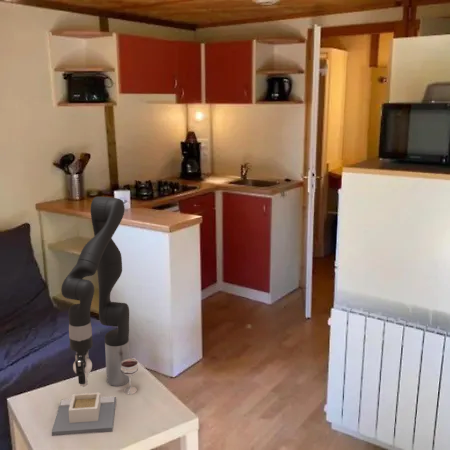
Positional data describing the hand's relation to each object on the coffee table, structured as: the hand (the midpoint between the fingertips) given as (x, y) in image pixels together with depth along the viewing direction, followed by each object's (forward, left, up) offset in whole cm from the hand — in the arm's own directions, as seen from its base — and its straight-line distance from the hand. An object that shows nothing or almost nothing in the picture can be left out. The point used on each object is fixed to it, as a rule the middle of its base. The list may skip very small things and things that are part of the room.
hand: (83, 378), depth 180 cm
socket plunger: (0, 0, -12) cm, 12 cm away
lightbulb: (0, 0, -3) cm, 3 cm away
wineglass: (-15, +15, -16) cm, 26 cm away
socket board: (0, 0, -16) cm, 16 cm away
